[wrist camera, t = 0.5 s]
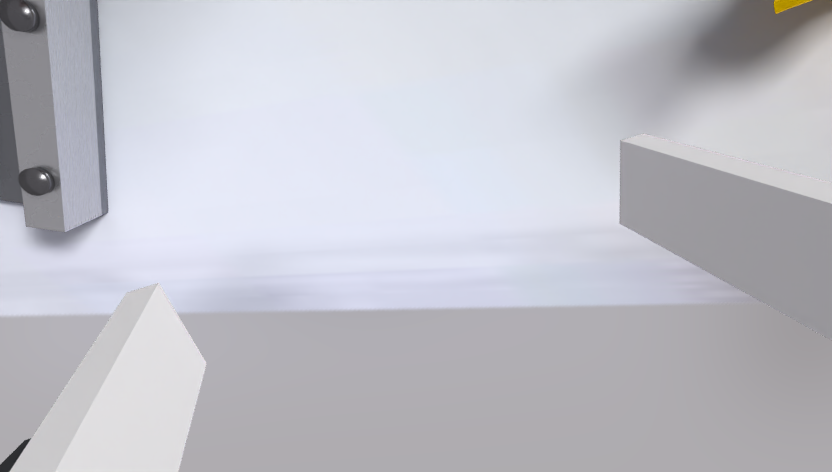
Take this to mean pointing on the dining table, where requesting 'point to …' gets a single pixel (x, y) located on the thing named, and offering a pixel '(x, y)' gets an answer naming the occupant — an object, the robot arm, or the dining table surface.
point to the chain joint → (52, 112)
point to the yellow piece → (787, 4)
